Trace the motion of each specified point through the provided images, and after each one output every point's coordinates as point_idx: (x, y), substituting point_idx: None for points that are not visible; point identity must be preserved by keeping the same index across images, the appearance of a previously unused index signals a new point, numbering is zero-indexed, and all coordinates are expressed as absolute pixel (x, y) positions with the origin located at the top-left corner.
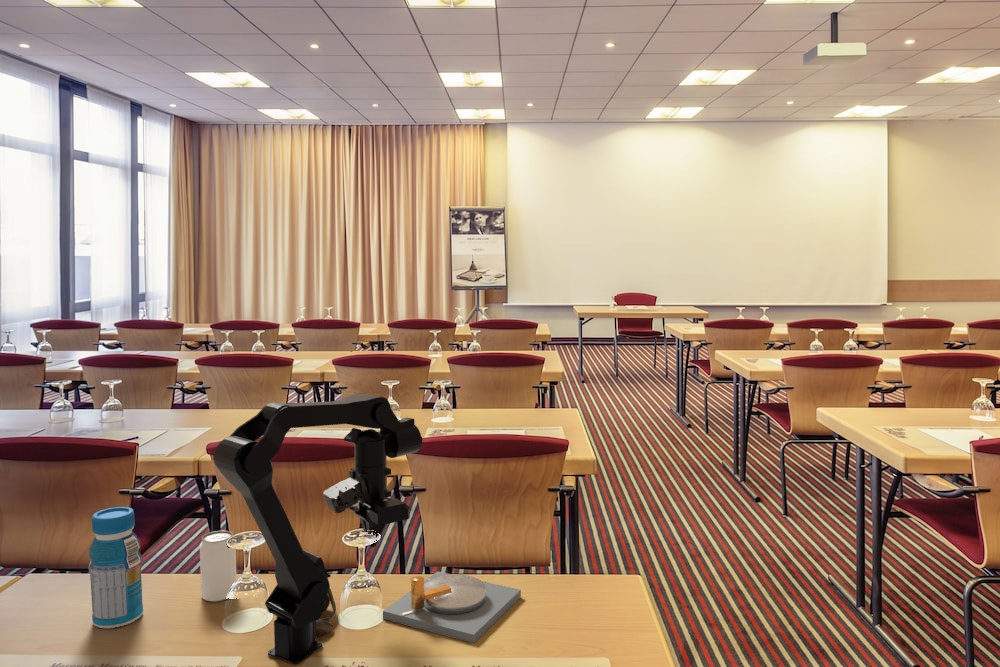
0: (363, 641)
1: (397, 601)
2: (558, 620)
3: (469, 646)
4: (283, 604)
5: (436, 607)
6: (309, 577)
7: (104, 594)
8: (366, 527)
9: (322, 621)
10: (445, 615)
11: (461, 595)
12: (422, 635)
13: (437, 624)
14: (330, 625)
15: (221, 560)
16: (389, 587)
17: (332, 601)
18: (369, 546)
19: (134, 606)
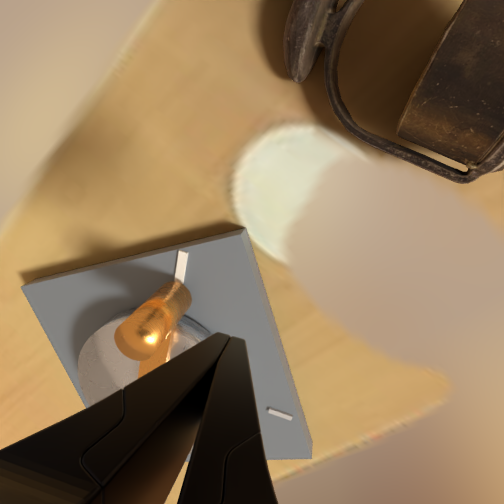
0: (184, 114)
1: (255, 294)
2: (27, 414)
3: (31, 265)
4: None
5: (129, 314)
6: None
7: None
8: (145, 430)
9: (298, 28)
10: (118, 311)
11: (109, 375)
12: (118, 236)
13: (95, 272)
14: (287, 63)
15: None
16: (377, 354)
17: (393, 146)
18: (233, 336)
19: None
